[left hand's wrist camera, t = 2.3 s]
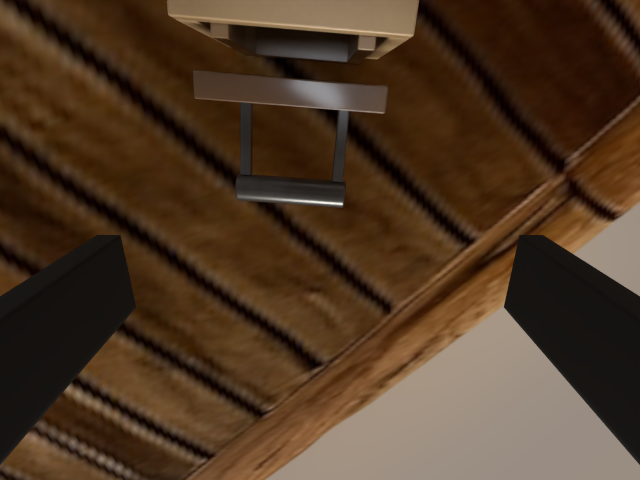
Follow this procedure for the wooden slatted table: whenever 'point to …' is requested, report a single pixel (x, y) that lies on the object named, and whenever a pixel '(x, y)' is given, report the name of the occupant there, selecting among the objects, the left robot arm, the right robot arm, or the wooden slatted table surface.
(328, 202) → the drawer
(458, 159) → the wooden slatted table surface
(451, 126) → the wooden slatted table surface
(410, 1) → the cabinet
